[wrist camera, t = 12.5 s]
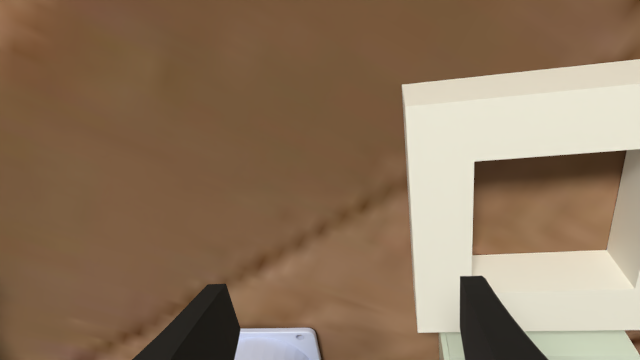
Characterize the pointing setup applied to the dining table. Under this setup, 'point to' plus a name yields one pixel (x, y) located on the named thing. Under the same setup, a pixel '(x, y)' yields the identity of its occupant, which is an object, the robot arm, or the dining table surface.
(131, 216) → the dining table surface
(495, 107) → the holder
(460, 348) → the tray
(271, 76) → the dining table surface
